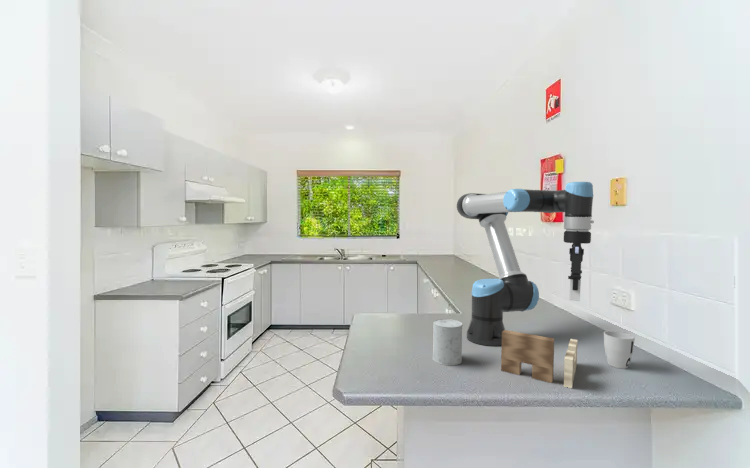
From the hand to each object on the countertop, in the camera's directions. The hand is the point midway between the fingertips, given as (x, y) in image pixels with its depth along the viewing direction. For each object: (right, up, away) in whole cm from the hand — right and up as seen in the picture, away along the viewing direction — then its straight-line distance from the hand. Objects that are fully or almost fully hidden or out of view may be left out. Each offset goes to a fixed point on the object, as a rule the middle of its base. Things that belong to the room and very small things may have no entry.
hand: (574, 296), depth 110 cm
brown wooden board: (-19, -22, -8) cm, 30 cm away
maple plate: (-5, -22, -7) cm, 24 cm away
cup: (+14, -23, 0) cm, 27 cm away
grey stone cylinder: (-40, -22, +3) cm, 46 cm away
